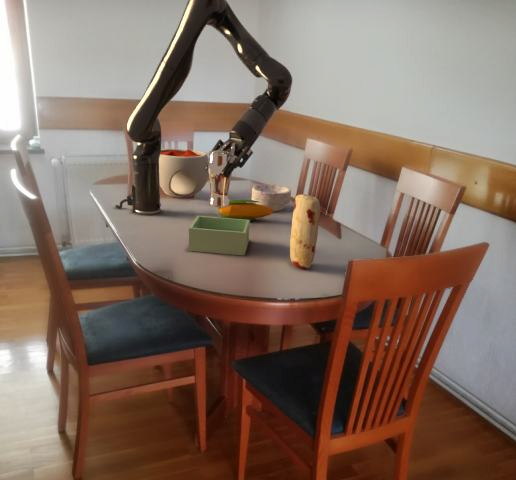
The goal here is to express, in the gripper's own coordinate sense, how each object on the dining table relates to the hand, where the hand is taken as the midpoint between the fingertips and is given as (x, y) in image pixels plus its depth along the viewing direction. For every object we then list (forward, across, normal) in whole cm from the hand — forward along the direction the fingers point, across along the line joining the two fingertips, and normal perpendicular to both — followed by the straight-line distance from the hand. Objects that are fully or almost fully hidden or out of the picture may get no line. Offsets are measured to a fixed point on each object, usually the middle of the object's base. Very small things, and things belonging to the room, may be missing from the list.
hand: (215, 173), depth 151 cm
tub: (+15, +2, +16) cm, 21 cm away
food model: (+9, +28, +22) cm, 37 cm away
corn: (-4, -17, +35) cm, 39 cm away
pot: (-5, -60, +36) cm, 70 cm away
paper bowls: (-18, -25, +49) cm, 58 cm away
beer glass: (+6, 0, +8) cm, 10 cm away
